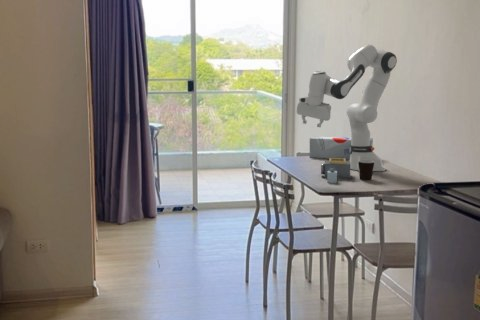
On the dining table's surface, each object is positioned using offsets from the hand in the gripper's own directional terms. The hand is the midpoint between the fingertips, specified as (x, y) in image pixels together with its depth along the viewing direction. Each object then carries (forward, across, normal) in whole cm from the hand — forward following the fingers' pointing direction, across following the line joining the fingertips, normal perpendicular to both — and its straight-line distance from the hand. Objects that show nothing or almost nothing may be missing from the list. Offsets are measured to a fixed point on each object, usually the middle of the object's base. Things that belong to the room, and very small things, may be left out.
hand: (311, 125), depth 324 cm
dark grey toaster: (+27, -16, -8) cm, 32 cm away
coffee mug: (+25, -32, -12) cm, 42 cm away
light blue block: (+26, -21, +6) cm, 34 cm away
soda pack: (+31, +12, -65) cm, 73 cm away
